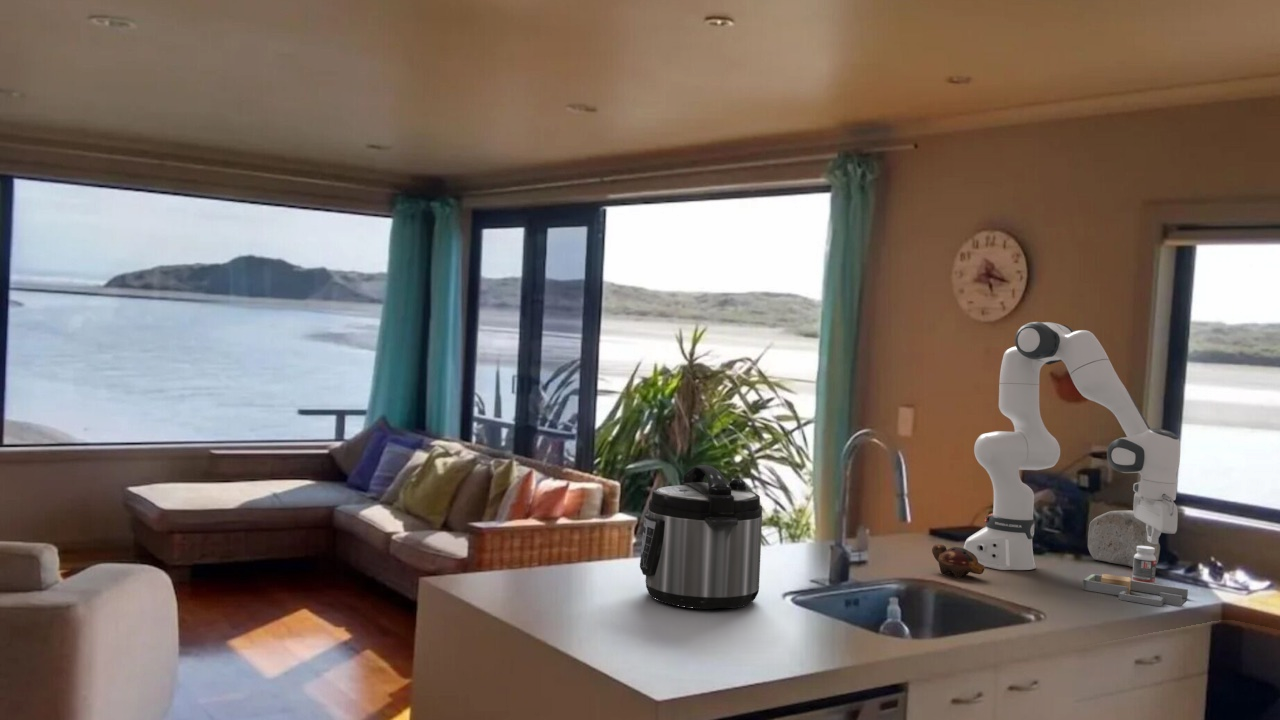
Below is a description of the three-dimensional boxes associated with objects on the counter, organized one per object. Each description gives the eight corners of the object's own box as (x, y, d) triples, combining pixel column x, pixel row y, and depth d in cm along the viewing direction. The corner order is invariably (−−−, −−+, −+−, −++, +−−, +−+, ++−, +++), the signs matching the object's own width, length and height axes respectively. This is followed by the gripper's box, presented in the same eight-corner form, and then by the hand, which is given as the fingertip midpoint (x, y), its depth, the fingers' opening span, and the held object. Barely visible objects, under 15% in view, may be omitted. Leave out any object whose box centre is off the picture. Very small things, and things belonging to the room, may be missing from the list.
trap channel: (1078, 592, 300) (1078, 583, 299) (1091, 582, 313) (1092, 573, 313) (1177, 609, 286) (1178, 599, 286) (1187, 598, 299) (1188, 589, 299)
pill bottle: (1156, 585, 314) (1159, 550, 313) (1134, 583, 315) (1137, 548, 314) (1151, 581, 319) (1154, 546, 319) (1130, 579, 320) (1132, 544, 320)
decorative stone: (1162, 569, 339) (1148, 573, 332) (1097, 555, 353) (1083, 559, 346) (1167, 513, 338) (1153, 516, 331) (1101, 502, 352) (1087, 505, 345)
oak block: (1100, 592, 302) (1101, 577, 302) (1102, 588, 307) (1103, 573, 307) (1128, 596, 299) (1129, 581, 299) (1130, 592, 304) (1131, 577, 304)
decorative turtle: (934, 568, 321) (938, 540, 321) (987, 580, 313) (992, 552, 312) (922, 571, 313) (926, 542, 313) (976, 584, 305) (981, 555, 304)
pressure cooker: (665, 578, 289) (671, 454, 288) (772, 594, 279) (780, 465, 278) (619, 603, 261) (626, 466, 260) (737, 621, 251) (745, 478, 250)
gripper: (1186, 499, 288) (1181, 553, 289) (1154, 485, 308) (1149, 535, 309) (1161, 497, 288) (1155, 551, 289) (1131, 483, 309) (1125, 533, 310)
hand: (1152, 542), depth 299 cm, fingers closed
